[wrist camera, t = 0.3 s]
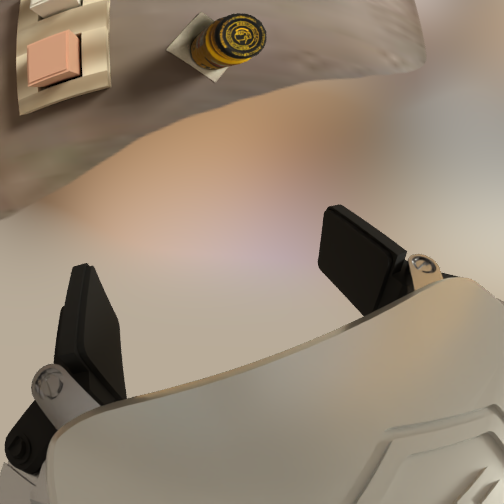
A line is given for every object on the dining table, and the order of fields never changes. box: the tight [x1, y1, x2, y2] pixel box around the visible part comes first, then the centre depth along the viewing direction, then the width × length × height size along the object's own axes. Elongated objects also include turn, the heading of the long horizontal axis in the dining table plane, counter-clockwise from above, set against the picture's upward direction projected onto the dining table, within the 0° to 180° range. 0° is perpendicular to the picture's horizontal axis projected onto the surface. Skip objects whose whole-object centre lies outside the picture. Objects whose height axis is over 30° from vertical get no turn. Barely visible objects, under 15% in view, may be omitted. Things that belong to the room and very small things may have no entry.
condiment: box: [166, 12, 266, 82], centre depth 24 cm, size 7×8×12 cm
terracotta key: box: [27, 30, 81, 87], centre depth 18 cm, size 5×5×6 cm
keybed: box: [16, 0, 111, 115], centre depth 18 cm, size 20×12×4 cm, turn 1°
